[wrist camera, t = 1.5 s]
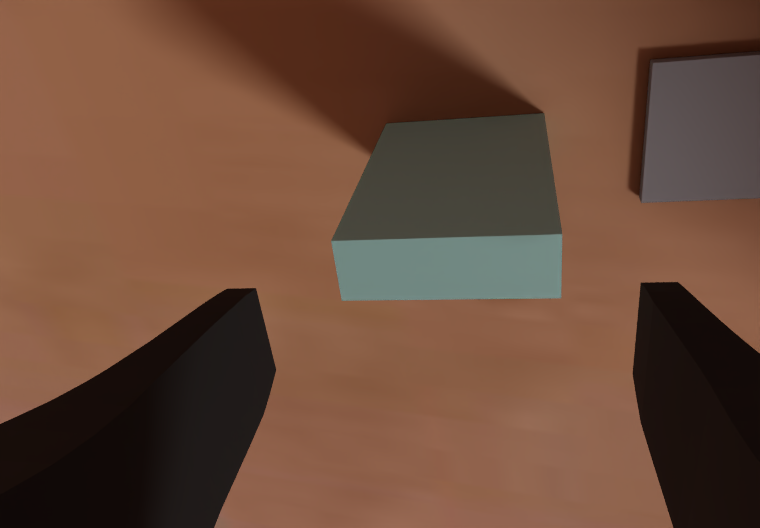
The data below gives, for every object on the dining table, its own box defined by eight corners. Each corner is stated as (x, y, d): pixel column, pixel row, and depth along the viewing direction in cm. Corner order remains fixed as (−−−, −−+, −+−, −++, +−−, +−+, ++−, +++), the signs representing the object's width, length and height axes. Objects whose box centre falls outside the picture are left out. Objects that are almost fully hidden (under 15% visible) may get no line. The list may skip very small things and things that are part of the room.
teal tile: (543, 161, 21) (561, 297, 15) (391, 169, 22) (341, 300, 16) (544, 113, 21) (561, 234, 14) (386, 123, 22) (330, 241, 15)
